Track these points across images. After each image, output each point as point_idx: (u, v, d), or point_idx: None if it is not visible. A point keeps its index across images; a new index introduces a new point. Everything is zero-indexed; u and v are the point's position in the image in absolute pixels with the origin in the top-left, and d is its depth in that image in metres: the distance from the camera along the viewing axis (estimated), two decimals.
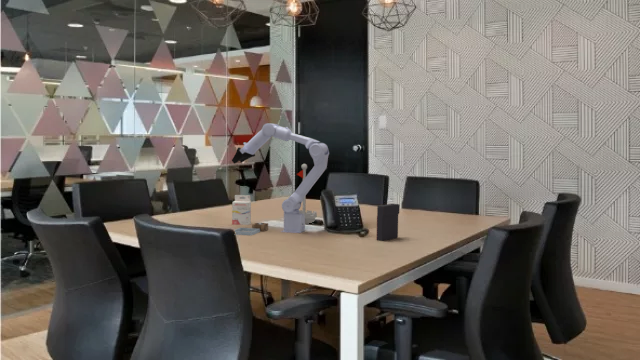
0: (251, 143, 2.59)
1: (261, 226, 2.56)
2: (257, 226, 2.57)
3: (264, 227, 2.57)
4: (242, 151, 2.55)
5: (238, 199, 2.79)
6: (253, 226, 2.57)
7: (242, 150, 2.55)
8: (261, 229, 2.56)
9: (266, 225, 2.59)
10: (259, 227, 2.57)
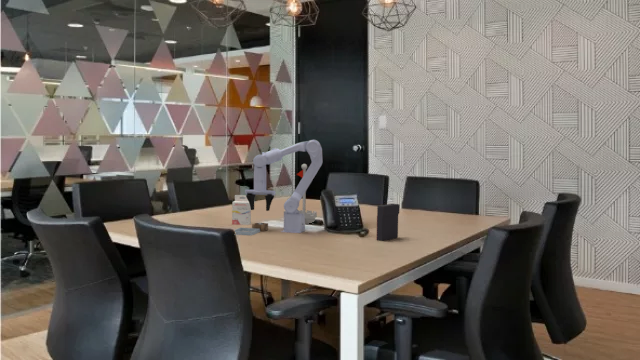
0: (265, 183, 2.56)
1: (261, 226, 2.56)
2: (257, 226, 2.57)
3: (264, 227, 2.57)
4: (275, 193, 2.56)
5: (238, 199, 2.79)
6: (253, 226, 2.57)
7: (274, 192, 2.56)
8: (261, 229, 2.56)
9: (266, 225, 2.59)
10: (259, 227, 2.57)
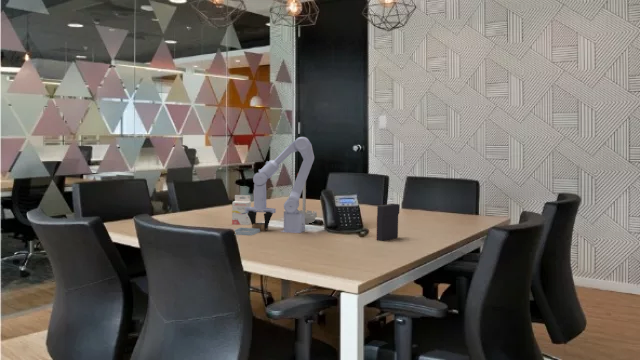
0: (265, 201, 2.57)
1: (261, 226, 2.56)
2: (257, 226, 2.57)
3: (264, 227, 2.57)
4: (275, 211, 2.57)
5: (238, 199, 2.79)
6: (253, 226, 2.57)
7: (274, 210, 2.57)
8: (261, 229, 2.56)
9: None
10: (259, 227, 2.57)
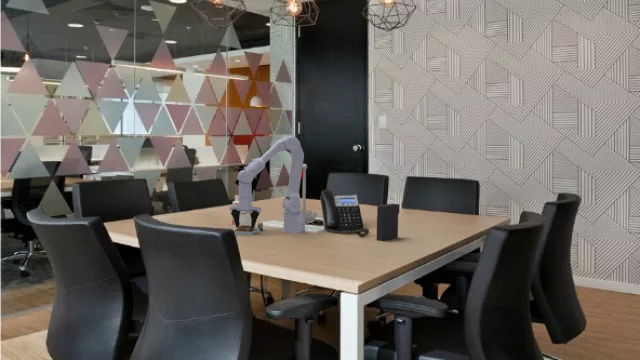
0: (250, 200, 2.49)
1: (246, 229, 2.49)
2: (242, 229, 2.49)
3: (249, 230, 2.50)
4: (260, 210, 2.49)
5: (238, 199, 2.79)
6: (238, 229, 2.50)
7: (260, 209, 2.49)
8: None
9: (252, 228, 2.52)
10: (244, 230, 2.49)
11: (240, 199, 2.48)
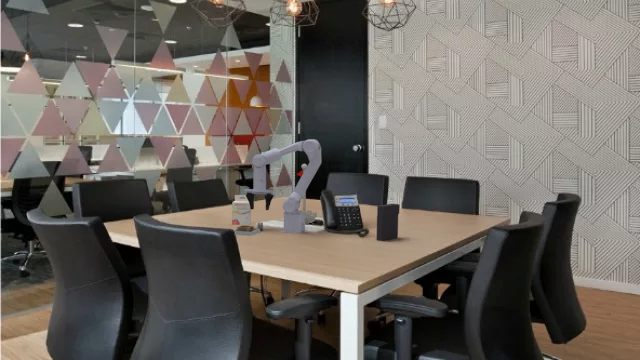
0: (264, 183, 2.58)
1: (246, 229, 2.49)
2: (242, 229, 2.49)
3: (249, 230, 2.50)
4: (274, 192, 2.58)
5: (238, 199, 2.79)
6: (238, 229, 2.50)
7: (274, 192, 2.58)
8: None
9: (252, 228, 2.52)
10: (244, 230, 2.49)
11: (255, 182, 2.58)
